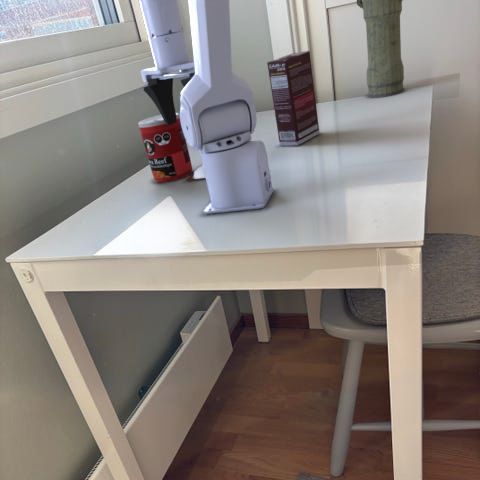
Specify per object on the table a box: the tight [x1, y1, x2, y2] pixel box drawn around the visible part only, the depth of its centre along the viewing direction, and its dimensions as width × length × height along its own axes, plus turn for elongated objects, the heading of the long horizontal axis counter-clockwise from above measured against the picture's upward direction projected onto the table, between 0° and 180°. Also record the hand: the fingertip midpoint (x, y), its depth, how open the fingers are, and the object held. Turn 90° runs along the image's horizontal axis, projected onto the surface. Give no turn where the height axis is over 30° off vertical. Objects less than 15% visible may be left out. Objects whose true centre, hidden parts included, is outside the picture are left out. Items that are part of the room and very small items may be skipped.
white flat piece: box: [185, 163, 206, 182], centre depth 97 cm, size 10×10×1 cm
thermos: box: [356, 0, 405, 98], centre depth 121 cm, size 9×12×35 cm
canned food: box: [137, 112, 193, 183], centre depth 97 cm, size 8×8×11 cm
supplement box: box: [266, 50, 320, 147], centre depth 101 cm, size 9×5×16 cm, turn 141°
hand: (186, 122), depth 88 cm, fingers open, 7 cm apart
